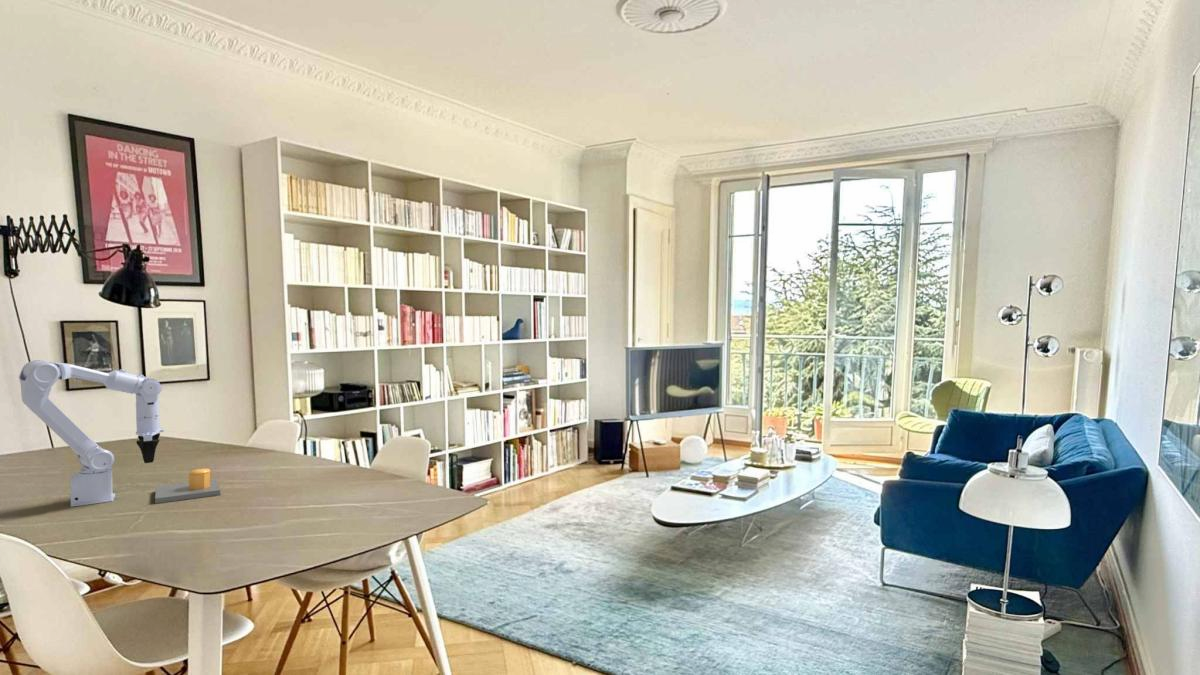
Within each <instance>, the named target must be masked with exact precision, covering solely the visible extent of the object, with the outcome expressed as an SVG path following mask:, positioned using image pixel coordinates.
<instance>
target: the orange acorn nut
mask: <svg viewBox="0 0 1200 675" xmlns="http://www.w3.org/2000/svg"><path fill="white" fill-rule="evenodd" d="M210 480H211V470H210V468H196V469H192V470H189V471H188V483H189V489H194V490H196V489H204V488H207V487H210Z"/></svg>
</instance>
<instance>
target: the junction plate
mask: <svg viewBox="0 0 1200 675" xmlns="http://www.w3.org/2000/svg"><path fill="white" fill-rule="evenodd" d="M214 496H221V488H220V485H219V480H218V479H217V478H216V479H210V487H207V488H204V489H196V490H194V489H189V482H185V483H176V484H169V485H168V484H167V485H161V486H160V485H159V486H155V495H154V504H164V503H171V502H177V501H184V500H193V499H200V498H201V499H202V498H209V497H214Z"/></svg>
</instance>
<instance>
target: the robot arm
mask: <svg viewBox="0 0 1200 675" xmlns="http://www.w3.org/2000/svg"><path fill="white" fill-rule="evenodd" d="M71 378H72V379H73V378H74V379H80V380H85V381H90V382H96V383H102V384H104V386H105V388H106V389H107V390H112V391H115V392H120V393H121V392H122V393H126V394H135V418H136V420H135V421H136V431H135V435H137V438H138V440H136V442H135V443H136V445H137V446H138V448H139V449H140V452H141V455H142V456H141V457H142V459H143V462H144V464H149V463H150V464H151V463H154V461H155V456H156V455H155V454H156V450H157V446H158V444H159V443H160V439H159V437H160V436H161V433H163V432H165V428H161V427H160V426H161V425H160V423H161V422H160V400H159V395H160V394H161V393H162V389H163V386H161V383H160V382H159V381H158V380H157V379H156V378H151V377H148V376H147V377H146V376H144V374H140V373H139V374H134V373H133V374H132V373H130V372H126V370H125V369H121V368H120V369H119V370H117V369H114V370H112V371H110V372H104V371H99V370H96V369H92V368H87V367H83V366H79V365H76V364H71V363H67V362H65V363H64V362H56V361H44V360H40V359H39V360H38V359H35V360H30V361H28V362H27V363H26V364H24V366H23V367H22V368H21V371H20V374H19V376H18V379H19V384H20V394H21V401H22V403H23V404H24V405H25V406H26V407H27V408H28V409H29V410H30V411H31V412H32V413H33V414H35V416H36V417H38V418H39V419H40V420H41V421H42V422H43V423H44V424H45V425H46V427H48V428H49V429H50V430H51V431H52V432H53V433H54V434H56V436H58V437H59V438H60V439H61V440H62V441H63V442H65V444H66V445H68V447H69V448H71V450H72V452H74V454H75V455H77V460H78V462H79V464H80V465H81V468H80V469H79V471H78V472H74V473H73V472H72V473H71V475H70V493H69V499H70V507H79V506H86V505H87V506H88V505H93V504H102V503H111V502H114V500H115V497H116V493H113V464H114V463H115V455H114V453H112V451H110V450H107V449H104V448H102V447H101V446H100V445H98V444H97V443H96V442H95V441H94V440H92V438H90V437H89V436H88V434H86V433H85V432H84V431H83V430H82V429H81V428H80V427H79V426H78V425H76V423H75V422H74V421H72V420H71V418H70V417H68V416H67V415H66V413H64V412H63V410H61V409H60V408H59V407H58V406H57V404H55V403H54V402H53V401H52V399H50V398H49V396H50V393H51V389H52V387H53V386H54V385H55V384H56V383H57V382H58V380H61V381H63V380H67V379H71Z"/></svg>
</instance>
